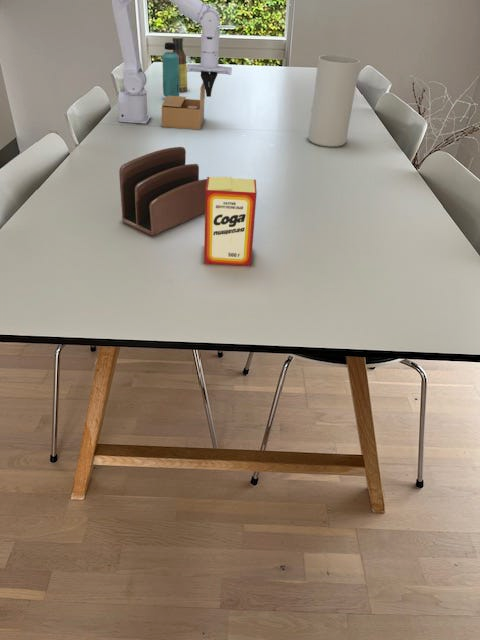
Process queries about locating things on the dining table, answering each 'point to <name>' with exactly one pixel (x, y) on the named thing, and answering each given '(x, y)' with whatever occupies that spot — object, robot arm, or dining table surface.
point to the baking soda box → (229, 220)
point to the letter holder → (161, 191)
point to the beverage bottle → (170, 71)
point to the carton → (182, 113)
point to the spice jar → (192, 107)
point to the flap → (202, 94)
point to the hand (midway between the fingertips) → (208, 96)
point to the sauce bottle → (181, 63)
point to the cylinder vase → (333, 99)
